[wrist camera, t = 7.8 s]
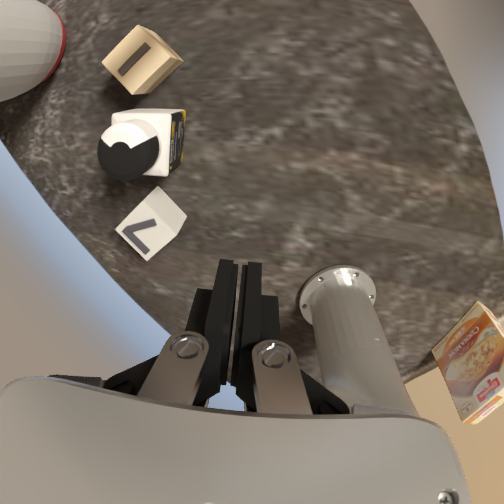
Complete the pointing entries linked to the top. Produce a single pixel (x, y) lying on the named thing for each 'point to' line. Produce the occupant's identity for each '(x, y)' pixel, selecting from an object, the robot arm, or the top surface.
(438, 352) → the coffeecake box
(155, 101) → the top surface
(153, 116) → the medicine bottle
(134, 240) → the white marked cube
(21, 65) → the citrus juicer
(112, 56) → the maple block one
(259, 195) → the top surface
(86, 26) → the top surface
